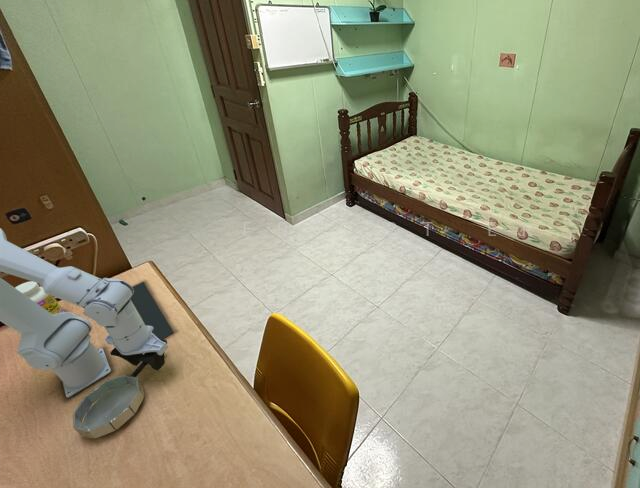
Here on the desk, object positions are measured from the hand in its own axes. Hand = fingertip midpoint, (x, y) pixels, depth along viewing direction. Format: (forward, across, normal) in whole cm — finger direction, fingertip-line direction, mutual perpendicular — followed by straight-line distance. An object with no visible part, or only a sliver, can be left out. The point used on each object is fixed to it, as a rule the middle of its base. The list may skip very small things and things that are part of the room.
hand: (149, 364), depth 76 cm
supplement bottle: (+2, +41, -6) cm, 41 cm away
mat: (+2, +17, -13) cm, 22 cm away
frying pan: (+2, 0, +5) cm, 6 cm away
